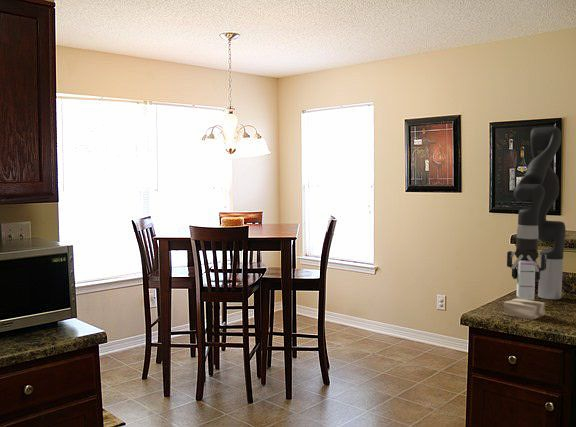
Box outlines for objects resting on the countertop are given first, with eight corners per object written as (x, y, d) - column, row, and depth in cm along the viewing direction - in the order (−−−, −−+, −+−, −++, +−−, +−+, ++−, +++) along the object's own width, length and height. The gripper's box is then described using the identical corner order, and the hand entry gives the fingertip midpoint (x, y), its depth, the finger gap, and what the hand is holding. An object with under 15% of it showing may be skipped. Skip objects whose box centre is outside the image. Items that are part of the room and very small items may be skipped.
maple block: (516, 310, 229) (517, 298, 229) (544, 315, 221) (545, 302, 221) (503, 315, 222) (503, 302, 221) (532, 320, 214) (532, 307, 213)
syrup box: (534, 300, 218) (536, 261, 217) (518, 299, 219) (519, 260, 218) (531, 296, 223) (533, 259, 222) (515, 295, 224) (517, 258, 223)
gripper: (550, 237, 218) (548, 281, 219) (511, 234, 227) (509, 276, 228) (544, 239, 212) (542, 283, 213) (504, 236, 221) (503, 279, 222)
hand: (525, 279), depth 221 cm, fingers closed on syrup box, 7 cm apart
